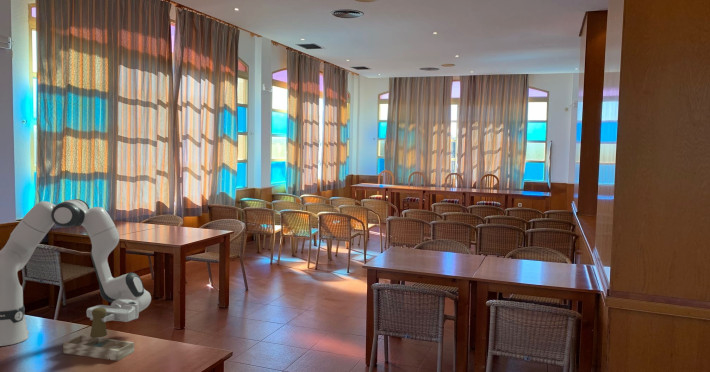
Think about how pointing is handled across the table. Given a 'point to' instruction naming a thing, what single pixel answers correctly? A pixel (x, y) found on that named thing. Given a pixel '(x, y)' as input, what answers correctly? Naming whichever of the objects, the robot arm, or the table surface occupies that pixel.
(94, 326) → the cork
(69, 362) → the table surface
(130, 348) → the divided tray
